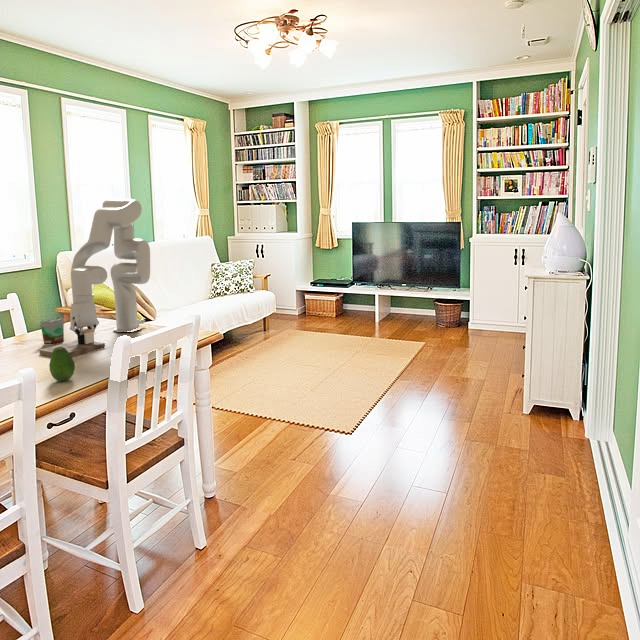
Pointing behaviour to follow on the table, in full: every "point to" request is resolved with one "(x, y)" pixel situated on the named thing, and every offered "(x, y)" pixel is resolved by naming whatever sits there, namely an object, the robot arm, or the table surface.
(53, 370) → the avocado
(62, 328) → the food container
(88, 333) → the beige small block
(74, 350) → the panel
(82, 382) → the table surface
